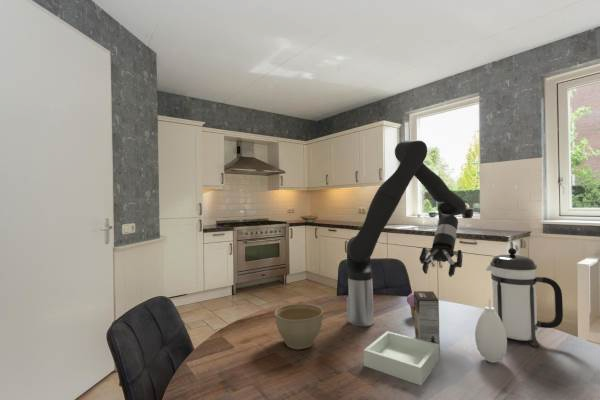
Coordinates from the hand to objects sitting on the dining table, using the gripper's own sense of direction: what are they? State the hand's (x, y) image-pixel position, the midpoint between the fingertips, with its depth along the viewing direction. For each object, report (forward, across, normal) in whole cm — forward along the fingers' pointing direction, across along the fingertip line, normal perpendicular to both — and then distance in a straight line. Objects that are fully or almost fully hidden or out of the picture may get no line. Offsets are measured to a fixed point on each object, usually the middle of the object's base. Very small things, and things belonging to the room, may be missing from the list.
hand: (437, 273), depth 111 cm
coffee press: (+8, +23, +20) cm, 32 cm away
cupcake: (+8, -10, +20) cm, 24 cm away
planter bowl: (+41, -34, -12) cm, 55 cm away
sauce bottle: (+24, +18, +5) cm, 30 cm away
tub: (+35, -2, -7) cm, 36 cm away
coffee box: (+24, 0, +5) cm, 24 cm away
